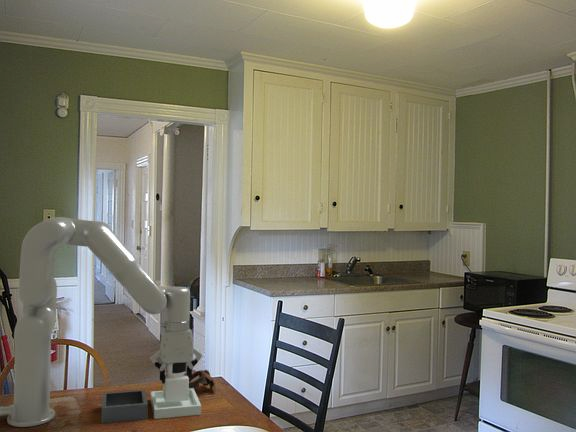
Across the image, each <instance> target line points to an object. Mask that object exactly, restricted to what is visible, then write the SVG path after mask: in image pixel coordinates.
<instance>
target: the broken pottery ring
mask: <svg viewBox="0 0 576 432" xmlns="http://www.w3.org/2000/svg"><path fill="white" fill-rule="evenodd" d="M197 377H198V378H197ZM195 378H197V379H196V380H193V379H195ZM200 385H202V386H204V387H205V386H206V387H207V386H209V389H210V390H211V391H212V394H215V393H216V392H217V390H216V385H215V381H214V379H213V377H212V376H211V373H210V371H209V370H207V369H204V370H202V369H201V370H197V371H195V372H192V378H190V382H189V388H194V390H200Z"/></svg>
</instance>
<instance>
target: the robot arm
mask: <svg viewBox="0 0 576 432" xmlns="http://www.w3.org/2000/svg"><path fill="white" fill-rule="evenodd" d="M62 245H68V246H78V247H87V248H88V249H89V250H90V251H91V253H93V255H94V256H95V257H96V258H97V259H98V260H99V262H101V264H102V265H104V266H105V268H106V269H107V270H108V271H109V273H110V274H111V275H113V277H114V279H116V281H117V282H118V283H119V284H120V285H121V286H122V287H123V289H125V291H126V293H128V294H129V296H130V297H132V299H133V300H134V301H135V303H137V305H139V307H140V308H141V309H142V310H143V311H144V312H145V313H147V314H150V315H159V314H161V313H162V312H163V311H164V310H165V320H164V321H163V322H160V328H164V329H163V330H162V334H161V340H160V348H159V350H157V351H156V352H155V353H153V355H151V356H150V357H149V360H150V361H151V362H152V364H153V366H155V367H156V368H157V369H158V370H159V381H161V384H162V385H163V384H164V383H165V373H166V370H165V369H166V367H167V364H173V363H186V365H187V366H186V374H187V376H188V378H189V382H190V378H192V374H193V369H194V367H195V366H196V365H197V364H198V363H199V361H200V360H201V359H202V358H203V355H202V354H201V352H199V351H198V350H196V349H195V347H194V336H193V330H192V329H191V328H190V320H191V319H190V316H191V315H190V314H191V290H190V289H189V288H188V287H186V286H169V287H168V286H159V285H157V284H155V283H154V281H153V280H152V279H151V277H149V276H148V274H147V273H146V271H144V269H143V267H142V265H141V264H140V262H139V260H138V259H137V257H136V256H135V254H134V253H132V251H130V249H129V248H128V247H127V246H126V245H125V244H124V243H123V242H122V241H121V239H120V238H119V237H118V236H117V235H116V233H114V231H113V229H112V228H111V227H110V225H109V224H108V223H106V222H104V221H99V220H98V221H96V220H86V219H79V218H71V217H63V216H56V217H51V218H47V219H45V220H42V221H40V222H39V223H36V225H33V227H31V228H30V229H29V230H28V232H27V233H26V235H25V237H24V238H23V240H22V243H21V249H20V250H21V251H20V261H19V262H20V264H19V276H18V277H19V278H18V279H19V280H18V292H17V293H18V297H19V301H20V302H21V303H22V316H21V317H20V318H19V319H18V320H17V322H16V323H15V327H14V332H13V341H14V382H13V383H14V385H13V386H14V387H13V388H14V389H13V402H12V404H9V405H8V406H0V417H1V416H7V418H6V419H7V420H6V421H7V424H8V425H10V426H13V427H18V428H26V427H27V428H28V427H35V426H39V425H43V424H46V423H48V422H50V421H52V420H53V419H54V418H55V416H56V411H55V410H54V408H51V407H50V399H51V372H52V371H51V370H52V369H51V366H52V365H51V362H52V332H53V329H54V327H55V325H56V323H57V322H56V320H57V302H58V301H57V296H58V287H57V286H58V285H57V284H58V283H57V281H56V279H55V278H54V276H53V275H52V274H53V253H54V250H55V248H58V247H59V246H62ZM194 355H195V358H194ZM158 357H159V359H160V362H159V361H158V360H157V359H158Z"/></svg>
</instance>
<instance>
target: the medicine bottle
mask: <svg viewBox="0 0 576 432" xmlns="http://www.w3.org/2000/svg"><path fill="white" fill-rule="evenodd" d="M165 369H166V370H165V383H164V384H162V391H163V397H164V399H165V402H175V401H185V400H188V392H189V378H188V376H187V374H186V373H187V363H173V364H166V366H165Z"/></svg>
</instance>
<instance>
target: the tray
mask: <svg viewBox="0 0 576 432" xmlns="http://www.w3.org/2000/svg"><path fill="white" fill-rule="evenodd" d="M195 390H196V389H194V388H189V392H188V400H185V401H175V402H165V399H164V397H163V390H153V391H150V403H151V404H150V405H151V409H152V414H153V419H154V420H157V419H169V418H179V417H181V418H182V417H189V416H200V415H202V404H201V402H200V399H199V397H198V395H197V393H196V391H195Z"/></svg>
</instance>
